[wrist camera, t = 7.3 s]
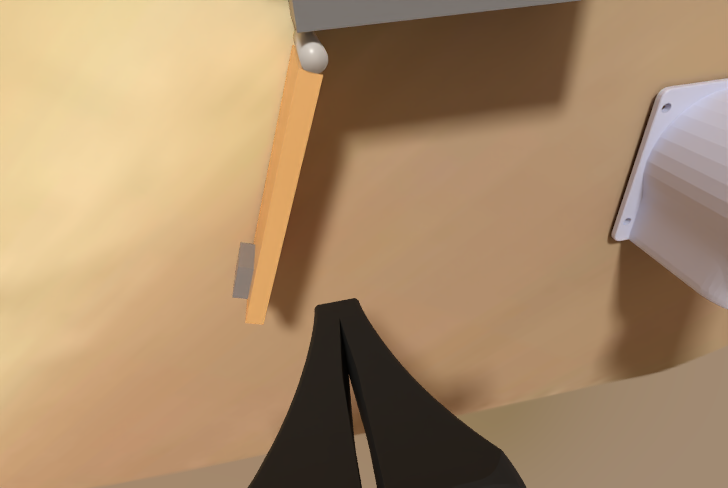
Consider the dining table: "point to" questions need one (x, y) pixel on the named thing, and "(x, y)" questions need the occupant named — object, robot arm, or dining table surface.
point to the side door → (281, 175)
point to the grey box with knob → (389, 10)
